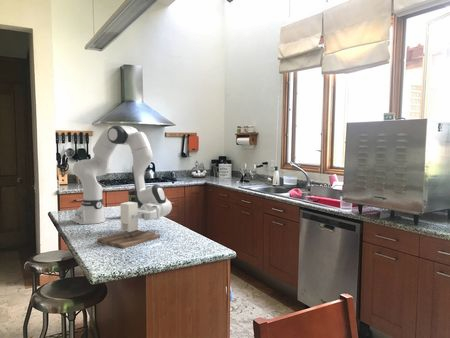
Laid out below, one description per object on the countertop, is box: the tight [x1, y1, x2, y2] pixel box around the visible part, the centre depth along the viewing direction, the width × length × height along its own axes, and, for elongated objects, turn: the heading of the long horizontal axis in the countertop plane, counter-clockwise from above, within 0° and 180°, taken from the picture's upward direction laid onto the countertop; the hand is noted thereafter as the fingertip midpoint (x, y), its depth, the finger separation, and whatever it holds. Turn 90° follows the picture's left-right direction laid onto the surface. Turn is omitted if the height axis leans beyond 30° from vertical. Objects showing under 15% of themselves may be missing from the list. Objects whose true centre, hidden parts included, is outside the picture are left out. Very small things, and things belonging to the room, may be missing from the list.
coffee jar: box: [127, 188, 141, 208], centre depth 243 cm, size 10×8×19 cm
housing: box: [119, 201, 139, 232], centre depth 188 cm, size 6×6×14 cm
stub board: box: [96, 229, 161, 249], centre depth 189 cm, size 20×24×4 cm
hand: (127, 215), depth 187 cm, fingers closed on housing, 6 cm apart
